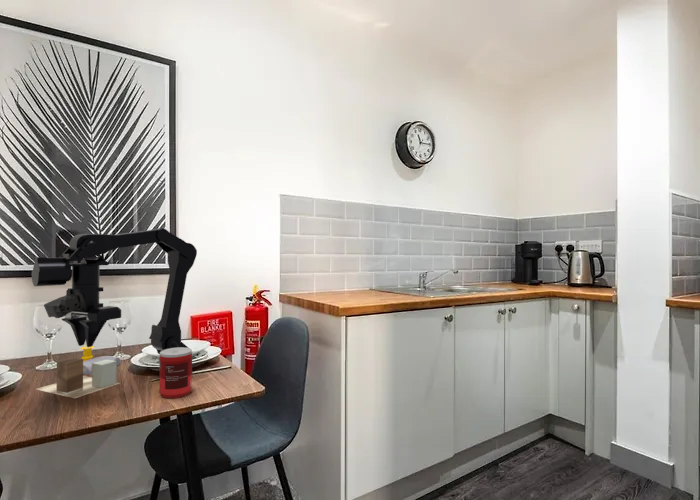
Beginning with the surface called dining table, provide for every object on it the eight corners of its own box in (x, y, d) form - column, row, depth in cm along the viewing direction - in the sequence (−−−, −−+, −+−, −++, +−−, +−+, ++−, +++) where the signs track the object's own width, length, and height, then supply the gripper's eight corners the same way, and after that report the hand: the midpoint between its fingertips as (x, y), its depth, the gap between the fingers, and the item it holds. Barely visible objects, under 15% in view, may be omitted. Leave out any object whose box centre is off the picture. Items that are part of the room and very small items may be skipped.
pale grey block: (116, 383, 106) (116, 361, 106) (102, 387, 102) (102, 365, 102) (106, 381, 107) (106, 359, 107) (91, 385, 104) (92, 363, 104)
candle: (82, 367, 123) (82, 318, 123) (74, 364, 126) (74, 316, 126) (100, 363, 127) (100, 315, 127) (92, 360, 130) (92, 314, 130)
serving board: (120, 385, 106) (120, 382, 106) (74, 401, 95) (74, 398, 95) (82, 378, 112) (82, 375, 112) (35, 392, 101) (35, 389, 101)
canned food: (178, 386, 106) (178, 345, 106) (198, 391, 102) (198, 349, 102) (152, 395, 99) (152, 352, 99) (173, 401, 96) (173, 356, 96)
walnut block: (82, 389, 101) (83, 359, 101) (66, 395, 97) (66, 363, 97) (73, 387, 102) (73, 357, 102) (56, 392, 98) (56, 361, 98)
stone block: (64, 382, 114) (92, 378, 112) (62, 366, 115) (90, 361, 113) (97, 371, 126) (124, 367, 124) (95, 356, 126) (122, 352, 124)
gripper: (26, 284, 93) (25, 349, 93) (76, 288, 86) (76, 358, 86) (74, 281, 104) (74, 340, 104) (123, 284, 96) (122, 347, 96)
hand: (85, 346), depth 97 cm, fingers open, 3 cm apart
